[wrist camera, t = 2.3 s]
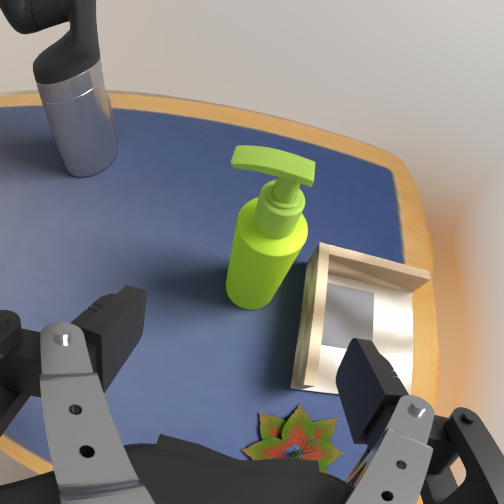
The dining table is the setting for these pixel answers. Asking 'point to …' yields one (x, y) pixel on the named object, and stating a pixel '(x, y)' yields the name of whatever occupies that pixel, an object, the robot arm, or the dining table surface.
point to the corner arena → (353, 314)
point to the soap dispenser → (268, 225)
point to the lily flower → (296, 439)
